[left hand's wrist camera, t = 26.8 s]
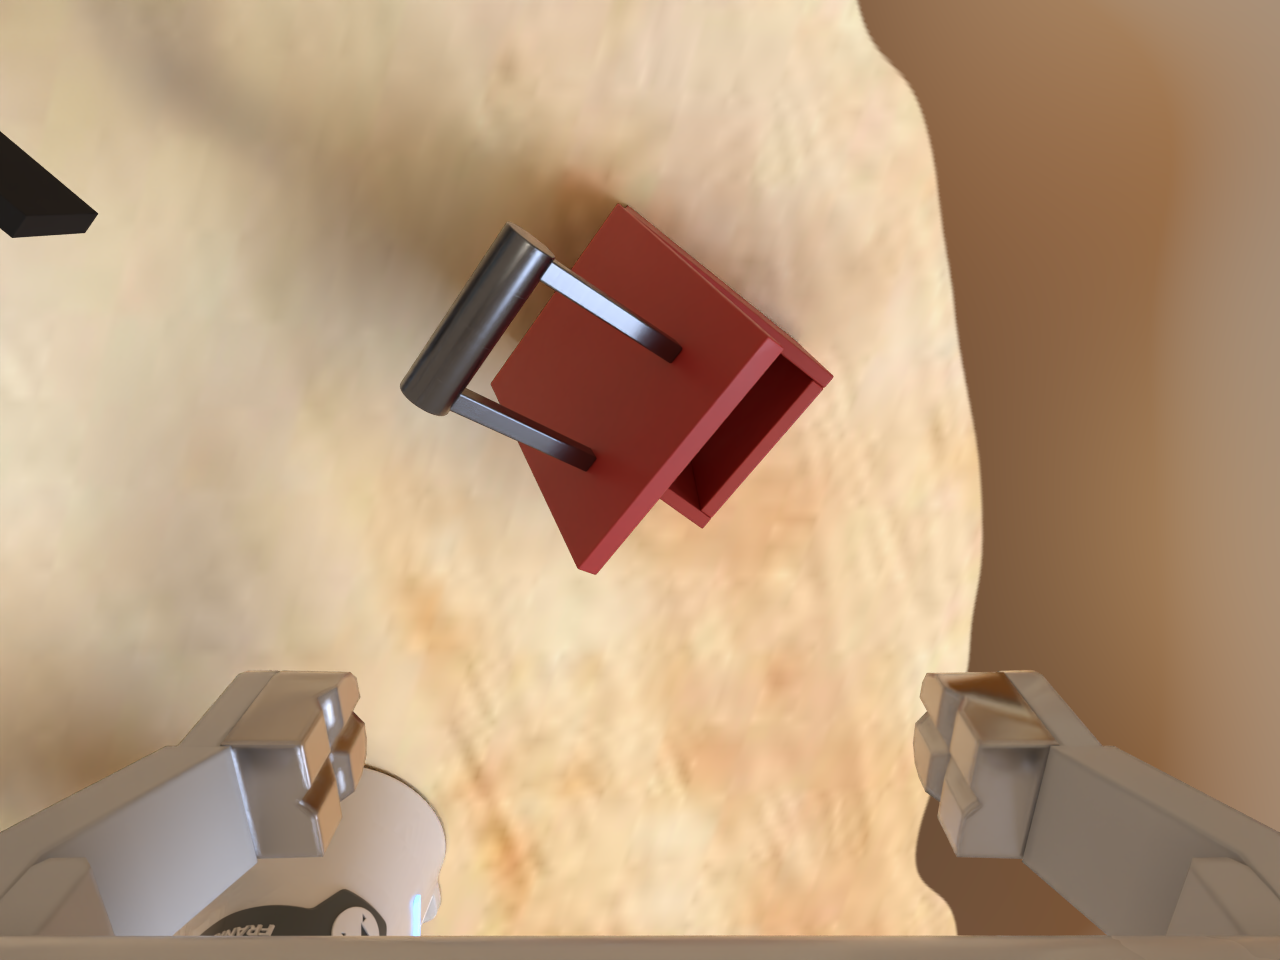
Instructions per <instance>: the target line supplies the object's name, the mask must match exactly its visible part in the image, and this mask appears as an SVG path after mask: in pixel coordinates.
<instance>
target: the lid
mask: <svg viewBox="0 0 1280 960" xmlns="http://www.w3.org/2000/svg"><path fill="white" fill-rule="evenodd" d="M539 281H541V282H542V283H544V284H546V285H547V286H549V287H550V288H552V289H553V290H555V293H554V294H553V296H552V297H551V299H550V300H549V301H548V303H547V304H546V306H545V307H544V309H543V310H542V311H541V313H540V314H539V316H538V317H537V319H536V320H535V321H534V323H533V324H532V326H531V327H530V328H529V330H528V331H527V333H526V334H525V336H524V337H523V338H522V340H521V341H520V343H519V344H518V346H517V347H516V348H515V350H514V351H513V353H512V354H511V355H510V357H509V358H508V360H507V361H506V363H505V364H504V365H503V367H502V368H501V370H500V371H499V373H498V374H497V375H496V377H495V378H494V380H493V381H492V382H491V386H492V388H493V390H494V392H495V394H496V397H497V399H498V401H499V403H500V404H498V403H496V402H494V401H492V400H490V399H488V398H485V397H483V396H481V395H479V394H477V393H475V392H473V391H471V390H469V389H467V388H466V387H467V385H468V384H469V382H470V381H471V379H472V378H473V376H474V375H475V374H476V372H477V371H478V369H479V368H480V366H481V365H482V363H483V362H484V361H485V359H486V358H487V356H488V355H489V353H490V352H491V350H492V349H493V348H494V346H495V345H496V343H497V342H498V340H499V339H500V337H501V336H502V335H503V333H504V332H505V330H506V329H507V327H508V326H509V324H510V323H511V322H512V320H513V319H514V317H515V316H516V314H517V313H518V311H519V310H520V309H521V307H522V306H523V304H524V303H525V301H526V300H527V298H528V297H529V296H530V294H531V293H532V291H533V290H534V288H535V287H536V285H537V284H538V283H539ZM783 349H784V348H783V346H782V345H780V344H779V343H778V342H777V341H776V340H775V339H774V338H772V337H771V336H770V335H769V334H768V333H767V332H766V331H764V330H763V329H762V328H761V327H760V326H759V325H758V324H757V323H755V322H754V321H753V320H752V319H751V318H750V317H749V316H747V315H746V314H745V313H744V312H743V311H742V310H741V309H739V308H738V307H737V306H736V305H735V304H734V303H733V302H732V301H730V300H729V299H728V298H727V297H726V296H725V295H724V294H722V293H721V292H720V291H719V290H718V289H717V288H716V287H714V286H713V285H712V284H711V283H710V282H709V281H708V280H706V279H705V278H704V277H703V276H702V275H701V274H700V273H699V272H697V271H696V270H695V269H694V268H693V267H692V266H691V265H689V264H688V263H687V262H686V261H685V260H684V259H683V258H681V257H680V256H679V255H678V254H677V253H676V252H675V251H674V250H672V249H671V248H670V247H669V246H668V245H667V244H666V243H664V242H663V241H662V240H661V239H660V238H659V237H658V236H656V235H655V234H654V233H653V232H652V231H651V230H650V229H648V228H647V227H646V226H645V225H644V224H643V223H642V222H641V221H639V220H638V219H637V218H636V217H635V216H634V215H633V214H631V213H630V212H629V211H628V210H626V209H625V208H624V207H623V206H621V205H620V204H617V205H616V206H615V208H614V209H613V210H612V212H611V213H610V215H609V216H608V218H607V219H606V220H605V222H604V223H603V225H602V226H601V228H600V229H599V230H598V232H597V233H596V235H595V236H594V237H593V239H592V240H591V242H590V243H589V245H588V246H587V247H586V249H585V250H584V252H583V253H582V255H581V256H580V257H579V259H578V260H577V262H576V263H575V264H574V266H573V267H572V269H571V270H570V269H569V268H567V267H566V266H564V265H563V264H561V263H560V262H558V261H557V260H555V256H554V254H553V253H552V252H551V251H550V250H549V249H548V248H547V247H546V246H545V245H544V244H543V243H541V242H540V241H539V240H538V239H536V238H535V237H534V236H532V235H531V234H530V233H528V232H527V231H525V230H524V229H522V228H521V227H519V226H518V225H516V224H514V223H512V222H507V223H506V224H505V226H504V227H503V229H502V230H501V232H500V233H499V235H498V236H497V238H496V239H495V241H494V242H493V244H492V245H491V247H490V248H489V250H488V251H487V253H486V254H485V256H484V257H483V259H482V260H481V262H480V263H479V265H478V267H477V268H476V270H475V271H474V273H473V274H472V276H471V277H470V279H469V280H468V282H467V283H466V285H465V286H464V288H463V289H462V291H461V292H460V294H459V295H458V297H457V298H456V300H455V301H454V303H453V304H452V306H451V307H450V309H449V310H448V312H447V314H446V315H445V317H444V318H443V320H442V321H441V323H440V324H439V326H438V327H437V329H436V330H435V332H434V333H433V335H432V336H431V338H430V339H429V341H428V342H427V344H426V345H425V347H424V348H423V350H422V351H421V353H420V354H419V356H418V357H417V359H416V361H415V362H414V364H413V365H412V367H411V368H410V370H409V371H408V373H407V374H406V376H405V377H404V379H403V380H402V382H401V383H400V389H401V391H402V393H403V394H404V395H405V396H406V397H407V399H409V400H410V401H411V402H412V403H413V404H415V405H416V406H417V407H419V408H421V409H422V410H424V411H426V412H428V413H431V414H433V415H437V416H445V415H447V414H448V413H449V411H452V412H455V413H457V414H459V415H461V416H463V417H466V418H468V419H470V420H472V421H475V422H477V423H479V424H481V425H483V426H486V427H488V428H490V429H492V430H494V431H497V432H499V433H501V434H503V435H505V436H508V437H510V438H512V439H514V440H517V441H518V443H519V445H520V447H521V449H522V452H523V454H524V456H525V458H526V460H527V462H528V464H529V466H530V469H531V471H532V473H533V475H534V477H535V479H536V481H537V483H538V486H539V488H540V490H541V492H542V494H543V496H544V498H545V500H546V502H547V505H548V507H549V509H550V511H551V513H552V515H553V517H554V519H555V522H556V524H557V526H558V528H559V530H560V532H561V534H562V536H563V538H564V541H565V543H566V545H567V547H568V549H569V551H570V553H571V555H572V558H573V560H574V562H575V564H576V566H577V568H578V569H580V570H583V571H586V572H588V573H591V574H594V575H596V574H597V573H598V572H599V571H600V569H601V568H602V567H603V566H604V565H605V563H606V562H607V561H608V560H609V559H610V557H611V556H612V555H613V554H614V553H615V551H616V550H617V549H618V548H619V547H620V545H621V544H622V543H623V542H624V541H625V539H626V538H627V537H628V536H629V535H630V533H631V532H632V531H633V530H634V529H635V527H636V526H637V525H638V524H639V523H640V521H641V520H642V519H643V518H644V517H645V515H646V514H647V513H648V512H649V511H650V509H651V508H652V507H653V506H654V505H655V503H656V502H657V501H658V500H659V499H660V497H661V496H662V495H663V494H664V493H665V491H666V490H667V489H668V488H669V487H670V485H671V484H672V483H673V482H674V481H675V479H676V478H677V477H678V476H679V475H680V473H681V472H682V471H683V470H684V469H685V467H686V466H687V465H688V464H689V463H690V461H691V460H692V459H693V458H694V457H695V455H696V454H697V453H698V452H699V451H700V449H701V448H702V447H703V446H704V445H705V443H706V442H707V441H708V440H709V439H710V437H711V436H712V435H713V434H714V433H715V431H716V430H717V429H718V428H719V427H720V425H721V424H722V423H723V422H724V421H725V419H726V418H727V417H728V416H729V415H730V413H731V412H732V411H733V410H734V409H735V407H736V406H737V405H738V404H739V402H740V401H741V400H742V399H743V398H744V396H745V395H746V394H747V393H748V392H749V390H750V389H751V388H752V387H753V386H754V384H755V383H756V382H757V381H758V380H759V378H760V377H761V376H762V375H763V374H764V372H765V371H766V370H767V369H768V368H769V366H770V365H771V364H772V363H773V362H774V360H775V359H776V358H777V357H778V356H779V354H780V353H781V352H782V351H783Z"/></svg>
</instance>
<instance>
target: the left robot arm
mask: <svg viewBox="0 0 1280 960" xmlns="http://www.w3.org/2000/svg"><path fill="white" fill-rule="evenodd" d="M359 699H360V693H359V688H358V683H357V678H356V677H355V676H354V675H353V674H352V673H351V672H321V671H246V672H243V673H240V674H238V675H237V676H236V678H235V679H234V680H233V681H232V682H231V683H230V685H229V686H228V687H227V688H226V689H225V691H224V692H223V693H222V694H221V695H220V696H219V698H218V699H217V700H216V701H215V702H214V703H213V705H212V706H211V707H210V708H209V709H208V711H207V712H206V713H205V714H204V715H203V716H202V718H201V719H200V720H199V721H198V722H197V724H196V725H195V726H194V727H193V728H192V729H191V731H190V732H189V733H188V734H187V735H186V737H185V738H184V739H183V740H182V741H181V742H180V744H179V745H178V746H165V747H163V748H161V749H159V750H158V751H156V752H154V753H152V754H150V755H148V756H146V757H144V758H142V759H140V760H138V761H136V762H134V763H133V764H131V765H129V766H127V767H125V768H123V769H121V770H119V771H117V772H115V773H113V774H111V775H109V776H108V777H106V778H104V779H102V780H100V781H98V782H96V783H94V784H92V785H90V786H88V787H86V788H84V789H83V790H81V791H79V792H77V793H75V794H73V795H71V796H69V797H67V798H65V799H63V800H61V801H60V802H58V803H56V804H54V805H52V806H50V807H48V808H46V809H44V810H42V811H40V812H38V813H36V814H35V815H33V816H31V817H29V818H27V819H25V820H23V821H21V822H19V823H17V824H15V825H13V826H11V827H10V828H8V829H6V830H4V831H2V832H0V960H1280V832H1278V831H1276V830H1274V829H1272V828H1270V827H1268V826H1266V825H1264V824H1262V823H1260V822H1259V821H1257V820H1255V819H1253V818H1251V817H1249V816H1247V815H1245V814H1243V813H1241V812H1239V811H1237V810H1236V809H1234V808H1232V807H1230V806H1228V805H1226V804H1224V803H1222V802H1220V801H1218V800H1216V799H1214V798H1212V797H1211V796H1209V795H1207V794H1205V793H1203V792H1201V791H1199V790H1197V789H1195V788H1193V787H1191V786H1190V785H1188V784H1186V783H1184V782H1182V781H1180V780H1178V779H1176V778H1174V777H1172V776H1170V775H1168V774H1167V773H1165V772H1163V771H1161V770H1159V769H1157V768H1155V767H1153V766H1151V765H1149V764H1147V763H1145V762H1143V761H1142V760H1140V759H1138V758H1136V757H1134V756H1132V755H1130V754H1128V753H1126V752H1124V751H1122V750H1120V749H1119V748H1117V747H1115V746H1102V745H1101V744H1100V742H1099V741H1098V740H1097V739H1096V738H1095V737H1094V735H1093V734H1092V733H1091V732H1090V731H1089V730H1088V728H1087V727H1086V726H1085V725H1084V724H1083V722H1082V721H1081V720H1080V719H1079V718H1078V717H1077V715H1076V714H1075V713H1074V712H1073V711H1072V709H1071V708H1070V707H1069V706H1068V705H1067V704H1066V702H1065V701H1064V700H1063V699H1062V698H1061V697H1060V695H1059V694H1058V693H1057V692H1056V691H1055V689H1054V688H1053V687H1052V686H1051V685H1050V684H1049V682H1048V681H1047V680H1046V679H1045V678H1044V676H1043V675H1041V674H1040V673H1038V672H1036V671H1034V670H1020V671H998V672H966V673H927V674H926V676H925V678H924V680H923V682H922V687H921V693H920V699H921V700H922V702H923V704H924V706H925V708H926V710H927V712H926V713H925V714H924V715H923V716H922V717H921V718H920V719H919V720H918V721H917V722H916V723H915V731H914V739H913V748H914V760H915V765H916V769H917V772H918V776H919V779H920V781H921V783H922V785H923V787H924V790H925V792H927V793H928V794H929V795H931V796H932V797H934V798H935V799H936V800H938V801H939V802H940V805H939V811H938V819H939V821H940V823H941V825H942V827H943V829H944V831H945V833H946V835H947V837H948V839H949V842H950V844H951V846H952V848H953V850H954V852H955V854H956V856H957V857H980V858H1015V859H1023V860H1022V862H1023V863H1024V864H1025V865H1026V866H1028V867H1029V868H1030V869H1031V870H1032V871H1033V872H1035V873H1036V874H1037V875H1038V876H1039V877H1040V878H1042V879H1043V880H1044V881H1045V882H1046V883H1047V884H1049V885H1050V886H1051V887H1052V888H1053V889H1054V890H1055V891H1057V892H1058V893H1059V894H1060V895H1061V896H1062V897H1064V898H1065V899H1066V900H1067V901H1068V902H1069V903H1071V904H1072V905H1073V906H1074V907H1075V908H1076V909H1078V910H1079V911H1080V912H1081V913H1082V914H1083V915H1085V916H1086V917H1087V918H1088V919H1089V920H1090V921H1091V922H1093V923H1094V924H1095V925H1096V926H1097V927H1098V928H1100V929H1101V930H1102V931H1103V932H1104V933H1105V934H1107V935H1108V936H420V928H421V926H422V923H425V922H428V921H430V920H432V919H433V918H434V917H435V916H436V914H437V912H438V909H439V907H440V904H441V895H440V889H439V885H438V876H439V873H440V870H441V867H442V865H443V862H444V858H445V852H446V841H445V835H444V831H443V828H442V825H441V823H440V821H439V819H438V817H437V815H436V814H435V812H434V811H433V809H432V808H431V807H430V805H429V804H428V803H427V802H426V801H425V800H424V799H423V798H422V797H421V796H420V795H419V794H418V793H417V792H415V791H414V790H413V789H411V788H410V787H409V786H407V785H406V784H404V783H402V782H401V781H399V780H397V779H395V778H393V777H391V776H389V775H386V774H384V773H381V772H378V771H375V770H372V769H368V768H364V763H365V759H366V748H367V737H366V730H365V723H364V722H363V721H362V720H361V719H360V718H359V717H358V716H357V715H356V714H355V713H354V712H353V710H354V708H355V706H356V704H357V702H358V701H359Z"/></svg>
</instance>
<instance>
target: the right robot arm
mask: <svg viewBox="0 0 1280 960" xmlns="http://www.w3.org/2000/svg"><path fill="white" fill-rule="evenodd" d="M97 215H98V213H97V212H96V211H95V210H93V209H92V208H91V207H90V206H89V205H87V204H86V203H85V202H84V201H83V200H81V199H80V198H79V197H78V196H77V195H75V194H74V193H73V192H72V191H71V190H70V189H68V188H67V187H66V186H65V185H64V184H62V183H61V182H60V181H59V180H58V179H56V178H55V177H54V176H53V175H52V174H50V173H49V172H48V171H47V170H46V169H44V168H43V167H42V166H41V165H40V164H39V163H37V162H36V161H35V160H34V159H33V158H31V157H30V156H29V155H28V154H27V153H25V152H24V151H23V150H22V149H21V148H19V147H18V146H17V145H16V144H15V143H14V142H12V141H11V140H10V139H9V138H8V137H6V136H5V135H4V134H3V133H2V132H0V228H1V229H2V230H3V231H4V232H6V233H7V234H8V235H9V236H10V237H12V238H17V237H32V236H47V235H62V234H77V233H85V232H86V231H87V229H88V228H89V226H90V225H91V223H92V222H93V221H94V219H95V218H96V216H97Z"/></svg>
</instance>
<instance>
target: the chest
mask: <svg viewBox="0 0 1280 960" xmlns="http://www.w3.org/2000/svg"><path fill="white" fill-rule="evenodd" d="M625 209H626V210H628V211H629V212H630V213H631V214H633V215H634V216H635V217H636V218H637V219H638V220H639V221H641V222H642V223H643V224H644V225H645V226H646V227H647V228H648V229H650V230H651V231H652V232H653V233H654V234H655V235H656V236H658V237H659V238H660V239H661V240H662V241H663V242H664V243H666V244H667V245H668V246H669V247H670V248H671V249H672V250H674V251H675V252H676V253H677V254H678V255H679V256H680V257H681V258H683V259H684V260H685V261H686V262H687V263H688V264H689V265H691V266H692V267H693V268H694V269H695V270H696V271H697V272H699V273H700V274H701V275H702V276H703V277H704V278H705V279H706V280H708V281H709V282H710V283H711V284H712V285H713V286H714V287H716V288H717V289H718V290H719V291H720V292H721V293H722V294H724V295H725V296H726V297H727V298H728V299H729V300H730V301H732V302H733V303H734V304H735V305H736V306H737V307H738V308H739V309H741V310H742V311H743V312H744V313H745V314H746V315H747V316H749V317H750V318H751V319H752V320H753V321H754V322H755V323H757V324H758V325H759V326H760V327H761V328H762V329H763V330H764V331H766V332H767V333H768V334H769V335H770V336H771V337H772V338H774V339H775V340H776V341H777V342H778V343H779V344H780V345H782V346H783V348H784V349H783V351H782V352H781V353H780V354H779V356H778V357H777V358H776V359H775V360H774V362H773V363H772V364H771V365H770V366H769V368H768V369H767V370H766V371H765V372H764V374H763V375H762V376H761V377H760V378H759V380H758V381H757V382H756V383H755V384H754V386H753V387H752V388H751V389H750V390H749V392H748V393H747V394H746V395H745V396H744V398H743V399H742V400H741V401H740V402H739V404H738V405H737V406H736V407H735V409H734V410H733V411H732V412H731V413H730V415H729V416H728V417H727V418H726V419H725V421H724V422H723V423H722V424H721V425H720V427H719V428H718V429H717V430H716V431H715V433H714V434H713V435H712V436H711V437H710V439H709V440H708V441H707V442H706V443H705V445H704V446H703V447H702V448H701V449H700V451H699V452H698V453H697V454H696V455H695V457H694V458H693V459H692V460H691V461H690V463H689V464H688V465H687V466H686V467H685V469H684V470H683V471H682V472H681V473H680V475H679V476H678V477H677V478H676V479H675V481H674V482H673V483H672V484H671V485H670V487H669V488H668V489H667V490H666V491H665V493H664V494H663V495H662V496H661V497H660V499H661V500H663V501H664V502H665V503H667V504H668V505H670V506H671V507H672V508H674V509H675V510H677V511H678V512H679V513H681V514H682V515H684V516H685V517H686V518H688V519H689V520H691V521H692V522H694V523H695V524H696V525H698V526H699V527H701V528H703V527H704V526H705V525H706V524H707V523H708V522H709V521H710V519H711V517H713V516H714V514H715V513H716V512H717V511H718V510H719V509H720V507H721V506H722V505H723V504H724V503H725V502H726V501H727V499H728V498H729V497H730V496H731V495H732V494H733V493H734V491H735V490H736V489H737V488H738V487H739V486H740V484H741V483H742V482H743V481H744V480H745V479H746V478H747V476H748V475H749V474H750V473H751V472H752V471H753V469H754V468H755V467H756V466H757V465H758V464H759V463H760V461H761V460H762V459H763V458H764V457H765V456H766V454H767V453H768V452H769V451H770V450H771V449H772V448H773V446H774V445H775V444H776V443H777V442H778V441H779V440H780V438H781V437H782V436H783V435H784V434H785V433H786V431H787V430H788V429H789V428H790V427H791V426H792V425H793V423H794V422H795V421H796V420H797V419H798V418H799V416H800V415H801V414H802V413H803V412H804V411H805V410H806V408H807V407H808V406H809V405H810V404H811V403H812V402H813V400H814V399H815V398H816V397H817V396H818V395H819V393H820V392H821V391H822V390H823V388H824V387H826V385H827V384H828V383H829V382H830V381H831V380H832V379H833V375H832V374H831V373H830V372H829V371H828V370H826V369H825V368H824V367H823V366H822V365H821V364H820V363H819V362H818V361H817V360H816V359H815V358H814V357H812V356H811V355H810V354H809V353H808V352H807V351H806V350H805V349H804V348H803V347H802V346H801V345H800V344H799V343H798V342H797V341H795V340H794V339H793V338H792V337H790V336H789V335H788V334H787V333H785V332H784V331H783V330H782V329H780V328H779V327H778V326H777V325H775V324H774V323H773V322H772V321H771V320H769V319H768V318H767V317H766V316H764V315H763V314H762V313H761V312H759V311H758V310H757V309H756V308H754V307H753V306H752V305H751V304H749V303H748V302H747V301H746V300H745V299H743V298H742V297H741V296H740V295H738V294H737V293H736V292H735V291H733V290H732V289H731V288H730V287H728V286H727V285H726V284H725V283H723V282H722V281H721V280H720V279H719V278H717V277H716V276H715V275H714V274H712V273H711V272H710V271H709V270H707V269H706V268H705V267H704V266H702V265H701V264H700V263H699V262H697V261H696V260H695V259H694V258H693V257H691V256H690V255H689V254H688V253H686V252H685V251H684V250H683V249H681V248H680V247H679V246H678V245H676V244H675V243H674V242H673V241H671V240H670V239H669V238H668V237H666V236H665V235H664V234H663V233H662V232H660V231H659V230H658V229H657V228H655V227H654V226H653V225H652V224H650V223H649V222H648V221H647V220H645V219H644V218H643V217H642V216H640V215H639V214H638V213H637V212H636V211H634V210H633V209H632V208H631V207H629V206H628V205H627V207H626V208H625Z"/></svg>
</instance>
